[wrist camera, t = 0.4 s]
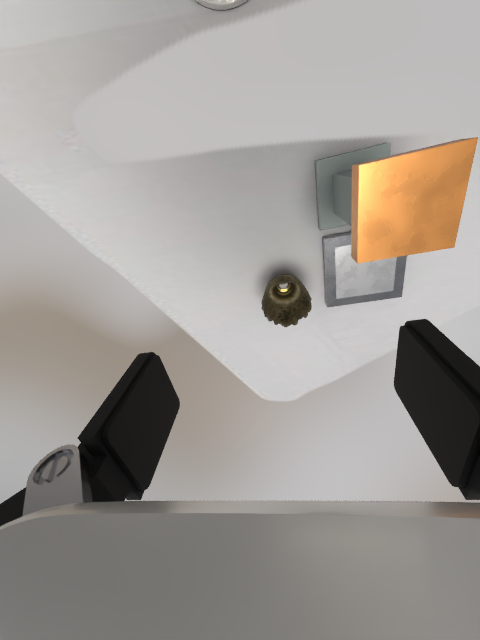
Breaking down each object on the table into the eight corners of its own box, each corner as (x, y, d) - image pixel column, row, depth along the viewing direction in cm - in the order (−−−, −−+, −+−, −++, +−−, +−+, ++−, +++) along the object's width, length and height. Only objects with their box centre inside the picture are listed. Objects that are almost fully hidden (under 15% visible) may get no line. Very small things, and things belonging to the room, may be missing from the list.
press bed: (322, 236, 40) (324, 239, 38) (405, 220, 38) (411, 223, 36) (325, 303, 46) (327, 307, 44) (397, 292, 44) (402, 297, 42)
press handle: (327, 164, 30) (359, 165, 20) (401, 146, 28) (477, 137, 18) (330, 233, 34) (357, 263, 24) (395, 220, 32) (454, 247, 22)
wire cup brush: (287, 255, 42) (290, 273, 35) (313, 285, 44) (322, 308, 37) (253, 283, 45) (251, 304, 38) (280, 310, 47) (282, 334, 41)
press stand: (314, 160, 35) (334, 160, 24) (385, 143, 33) (438, 134, 23) (318, 227, 39) (336, 250, 29) (381, 215, 37) (423, 235, 27)
